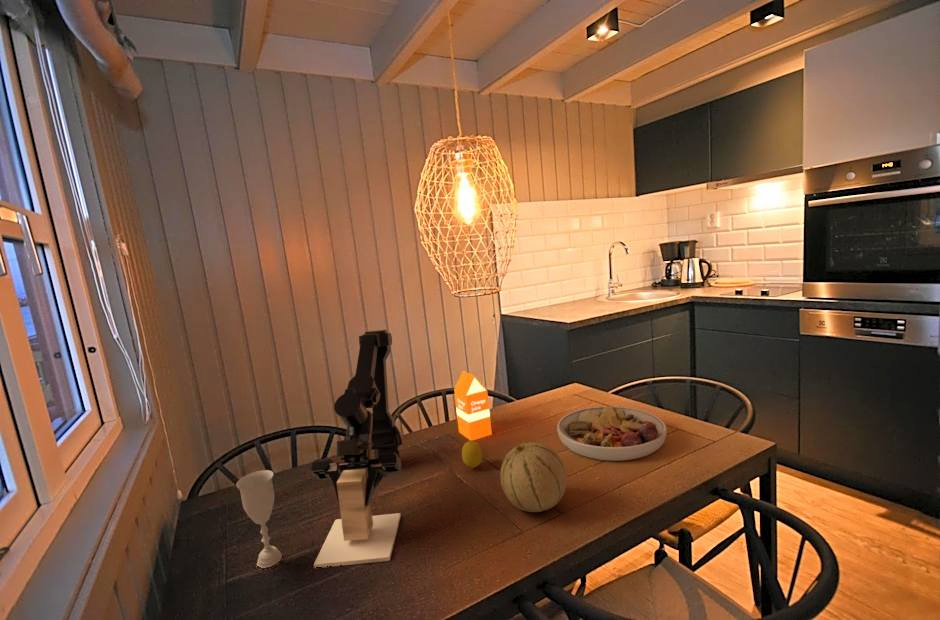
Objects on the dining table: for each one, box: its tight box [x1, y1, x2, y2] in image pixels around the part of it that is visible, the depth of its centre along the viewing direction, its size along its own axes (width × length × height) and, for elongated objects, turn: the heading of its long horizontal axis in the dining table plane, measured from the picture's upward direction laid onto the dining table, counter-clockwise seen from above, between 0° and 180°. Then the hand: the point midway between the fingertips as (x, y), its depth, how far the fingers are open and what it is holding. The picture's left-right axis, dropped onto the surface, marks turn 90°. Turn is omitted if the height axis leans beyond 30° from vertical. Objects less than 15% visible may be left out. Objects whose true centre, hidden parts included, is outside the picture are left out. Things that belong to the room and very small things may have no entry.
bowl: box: [556, 405, 667, 462], centre depth 131 cm, size 30×30×8 cm
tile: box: [313, 512, 401, 569], centre depth 97 cm, size 15×15×1 cm
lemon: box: [461, 439, 483, 469], centre depth 123 cm, size 6×6×8 cm
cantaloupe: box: [500, 441, 568, 513], centre depth 102 cm, size 15×15×15 cm
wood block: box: [337, 469, 373, 541], centre depth 96 cm, size 5×5×13 cm
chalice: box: [235, 469, 283, 568], centre depth 92 cm, size 7×7×18 cm
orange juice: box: [453, 370, 493, 441], centre depth 145 cm, size 8×9×20 cm
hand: (353, 507), depth 95 cm, fingers closed on wood block, 5 cm apart
